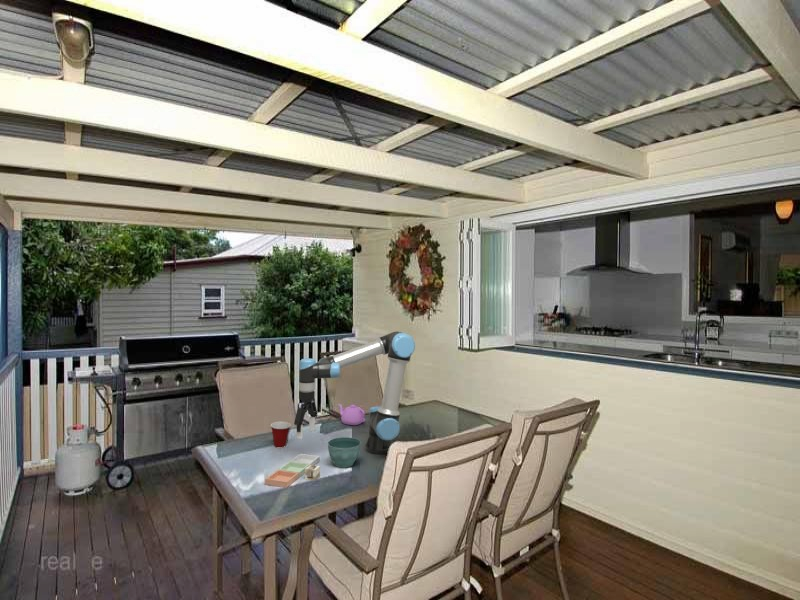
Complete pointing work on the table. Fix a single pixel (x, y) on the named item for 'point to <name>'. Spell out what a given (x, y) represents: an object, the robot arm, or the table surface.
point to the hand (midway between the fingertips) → (305, 434)
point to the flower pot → (344, 451)
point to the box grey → (306, 459)
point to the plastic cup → (280, 433)
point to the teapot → (352, 415)
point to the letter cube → (312, 472)
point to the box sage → (295, 467)
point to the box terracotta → (281, 478)
